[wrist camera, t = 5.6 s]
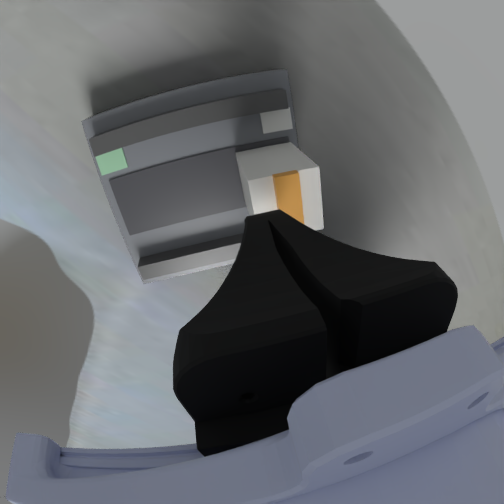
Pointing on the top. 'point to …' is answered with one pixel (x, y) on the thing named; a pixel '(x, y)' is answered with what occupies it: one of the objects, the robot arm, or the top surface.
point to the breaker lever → (282, 183)
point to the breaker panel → (187, 167)
